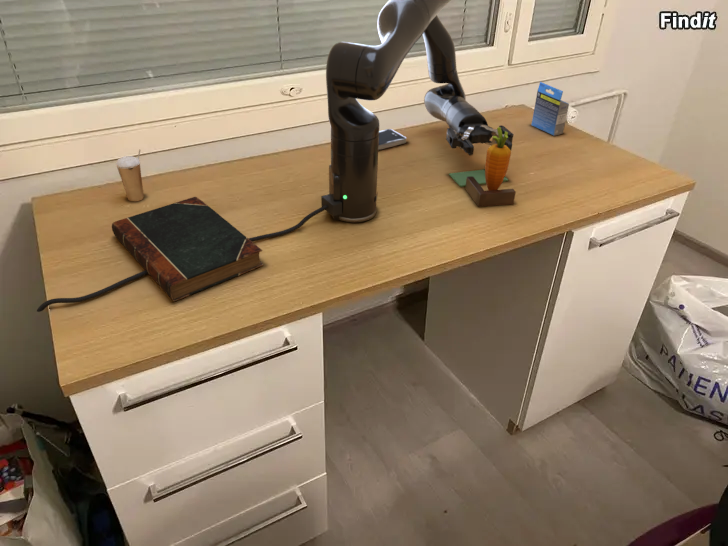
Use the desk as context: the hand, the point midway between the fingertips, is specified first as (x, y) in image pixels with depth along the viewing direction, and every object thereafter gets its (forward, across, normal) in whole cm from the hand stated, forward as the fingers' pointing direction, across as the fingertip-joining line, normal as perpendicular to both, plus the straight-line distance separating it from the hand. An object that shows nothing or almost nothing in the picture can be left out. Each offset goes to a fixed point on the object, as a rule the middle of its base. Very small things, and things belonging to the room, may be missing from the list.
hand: (490, 150), depth 126 cm
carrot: (+4, 0, +9) cm, 10 cm away
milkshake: (-6, -75, +9) cm, 76 cm away
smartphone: (-28, -19, +9) cm, 35 cm away
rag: (-5, 0, +9) cm, 10 cm away
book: (+17, -64, +9) cm, 67 cm away
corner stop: (+4, 0, +9) cm, 10 cm away
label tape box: (-31, +30, +9) cm, 44 cm away
